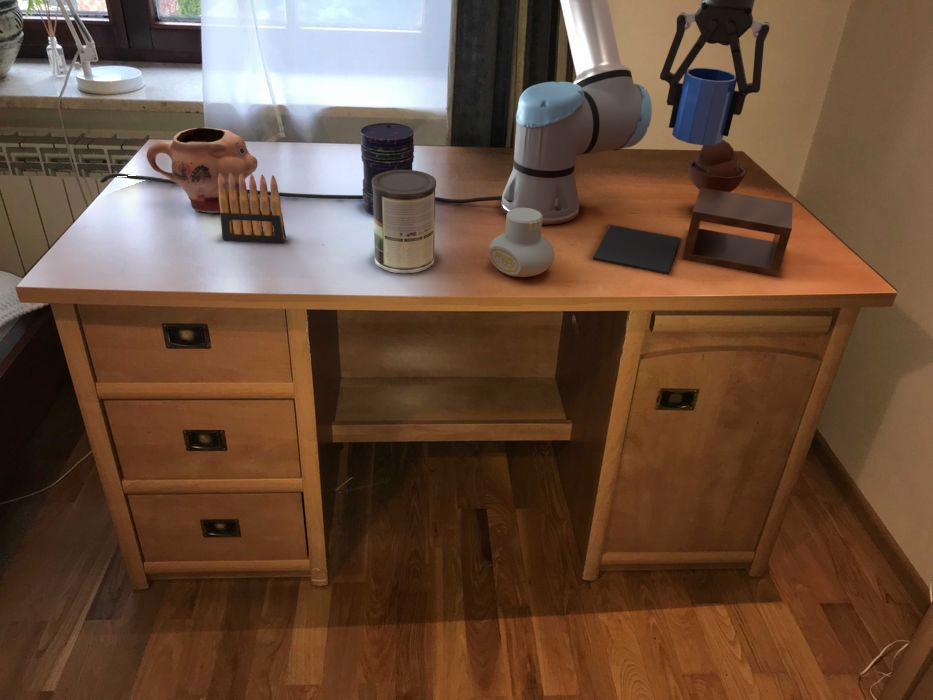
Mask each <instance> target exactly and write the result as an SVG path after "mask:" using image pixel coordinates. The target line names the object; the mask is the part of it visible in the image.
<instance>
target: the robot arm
mask: <svg viewBox="0 0 933 700" xmlns="http://www.w3.org/2000/svg"><path fill="white" fill-rule="evenodd" d="M559 2H560V6H561V10H562V15H563V20H564V25H565V30H566V34H567V39H568V44H569V48H570V52H571V58H572V62H573V66H574V70H575V76H576V77H575V79H574V81H573V82H570V81H546V82H541V83H537V84H533V85H531V86H529V87H528V88H526V89H525V90H524V91H523V92H522V93H521V95H520V96H519V99H518V105H517V111H516V114H515V121H516V124H515V125H516V126H515V139H514V151H513V152H514V153H513V166H512V171H511V173H510V175H509V178H508V180H507V182H506V185H505V187H504V190H503V192H502V195H495V196H494V195H493V196H492V195H491V196H482V197H481V196H480V197H479V196H478V197H471V198H470V197H469V198H463V199H462V198H460V199H459V198H458V199H456V198H445V197H439V196H435V202H440V203H446V204H470V203H476V202H477V203H479V202H489V201H492V202H493V201H500V209H501V211H502V212H503V213H504V214H505V215H506V216H507V213H508V212H509V211H510V210H512V209H515V208H531V209H534V210H537V211H539V212H540V213H541V214H542V216H543V221H542V226H545V225H546V226H548V225H549V226H550V225H559V224H564V223H567V222H570V221H572V220H574V219H575V218H576V217H578V215H579V213H580V198H579V193H578V188H577V184H576V183H577V182H576V179H575V167H576V159H577V156H581V155H588V154H595V153H601V152H602V153H603V152H610V151H615V152H616V151H620V150H622V149H626V148H632V147H634V146H635V145H637V144H639V143H640V142H642V140H643V139H644V137H645V136H646V134H647V132H648V128H649V127H650V125H651V120H652V116H653V115H652V113H653V107H652V99H651V96H650V93H649V92H648V90H647V89H645V87H644V86H643V85H641V84H637V83H634V78H633V75H632V71H631V69H630V68H628V67H626V66H625V65H623V64H622V63H621V57H620V53H619V49H618V43H617V39H616V35H615V30H614V25H613V20H612V16H611V11H610V5H609V2H608V0H559ZM700 2H701V4H700V6H699V8H698V10H697V11H696V12H695V13H685V12H680V13H679V14H678V15H677V17H676V31H675V34H674V37H673V40H672V42H671V44H670V47H669V50H668V53H667V56H666V59H665V61H664V64H663V66H662V69H661V72H660V75H659V79H660V80H661V81H665V82H666V83H668V86H669V88H668V92H667V98H666V105H667V106H671V107H672V109H671V114H670V119H669V123H668V128H670V129H673V128H674V123H675V118H676V113H677V109H678V104H679V99H680V94H681V89H682V84H683V82H680V81H681V80H682V78H684V75H685V72H686V71H687V69H690V67H691V65H692V64H693V62H694V60H695V59H696V58H697V56H698V55H699V54H700V52H701V51H702V49H703V48H704V46H705V45H706V43H707V44H710V45H714V44H715V45H716V44H719V45H722V46H726V47H728V46H729V47H730V53H731V57H732V63H733V68H734V75H736V80H737V82H736V86H737V90H735V91H734V94H733V98H732V102H731V106H730V110H729V114H728V118H727V122H726V126H725V130H724V134H723V137H729V135H730V130H731V127H732V126H731V125H732V122H733V118H734V116H735V115H736V116H740V115H741V114H742V113H743V109H744V106H745V102H746V97H747V96H748V95H749V94H757V93H759V92H760V90H761V84H762V83H761V82H762V72H763V71H762V70H763V60H764V59H763V58H764V48H765V41H766V38H767V36H768V34H769V32H770V26H771V25H770V22H768V21H764V22H762V21H760V20H759V21H758V20H755V19H754V16H753V9H754V5H755V0H701V1H700ZM694 22H695V24H696V26H697V28H698V31H699V33H700V35H699V36H698V38H697V39H696V41H695V42H694V44H693V45H692V47H691V48H690V50H689V51H688V53H687V54H686V56H685V57H684V59H683V60H682V62H681V63H680V65H679V66H678V68H677V69H676V71H675V72H674V73H673V72H671V70H672V68H673V65H674V62H675V60H676V57H677V54H678V51H679V49H680V46H681V43H682V41H683V38H684V35H685V33H686V30H688V29H690V28H691V26H692V23H694ZM749 29H752V36H753V38H755V43H754V44H755V45H754V58H753V68H752V69H753V70H752V81H751V82H749V83H747V76H746V71H745V65H744V60H743V54H742V49H741V41H740V38H741V37H742V36H744V34H745V33H746V32H747V31H748V30H749ZM128 175H130V174H128V173H122V172H121V173H120V172H114V173H110V174H107V175H105V176H103V177H102V178H101V179H100V180H99V183H101V184H102V183H106V182H107V181H108V180H110V179H113V178H118V177H117V176H127V177H121V179H130V180H139V181H152V182H159V183H166V184H172V185H178V184H177V183H175V182H173V181H172V180H170V179H169V178H163V177H158V176H149V175H136V174H135V175H136V176H128ZM257 192H258V196H260V190H258V189H257ZM278 192H279V197H280V198H281V197H282V198H296V199H297V198H299V199H300V198H301V199H319V200H363V194H320V193H319V194H318V193H315V194H314V193H294V192H280V191H278ZM247 193H248V195H250V189H248V188H247ZM268 195H269V197H271V191H268Z"/></svg>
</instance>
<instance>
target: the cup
mask: <svg viewBox="0 0 933 700" xmlns="http://www.w3.org/2000/svg"><path fill="white" fill-rule="evenodd" d="M736 86H737V80H736V74H735V73H733V72H731V71H727V70H723V69H718V68H712V67H691V68H688V69H687V71H686V72H685V74H684V75H683V80H682V89H681V94H680V99H679V104H678V109H677V113H676V118H675V123H674V128H672V133H671V135H672V136H673V137H674V138H675V139H677V140H678V141H681V142H684V143H686V144H689V145H697V146H703V145H716V144H719V143H721V142H722V140H724V139H723V138H724V136H723V134H724V130H725V126H726V122H727V118H728V114H729V110H730V106H731V102H732V98H733V94H734V91H736Z"/></svg>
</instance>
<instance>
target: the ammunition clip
mask: <svg viewBox="0 0 933 700" xmlns="http://www.w3.org/2000/svg"><path fill="white" fill-rule="evenodd" d="M248 179H249V181H248V186H249V187H247V183H246V179H244V177H243V175H242V174H240V176H239V193H240V196H239V197H238V194H237V189H236V184H235V180H234V177H233V175H232V174H231V173H230V174H229V180H228V184H229V197H228V194H227V190H226V185H225V181H224V178H223V176H222V174H221V173H219V176H218V187H219V203H220V210H221V212H219V217H220V226H221V227H220V228H221V235H222V240H223V241H225V242H226V241H227V242H248V243H268V244H269V243H270V244H272V243H273V244H285V241H286V240H287V235H286V229H285V222H284V216H283V211H282V204H281V203H282V202H281V196H279V192H280V191H279V186H278V182H277V179H276V177H275V175H274V174H272V175H271V178H270V184H269V185H270V192H271V196H269V195H268V190H269V189H268V184H267V181H266V178H265V176H264V174H261V175H260V179H259V191H260V195H258V192H257V190H258V187H257V182H256V180H255V176H254V174H253V173H252V174H250V175H249V178H248ZM248 188H249V190H250V194H248V193H247V189H248ZM239 201H240V202H239ZM229 202H230V203H229Z"/></svg>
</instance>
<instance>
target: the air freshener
mask: <svg viewBox="0 0 933 700" xmlns="http://www.w3.org/2000/svg"><path fill="white" fill-rule="evenodd" d="M542 221H543V216H542V214H541V213H540V212H539V211H537V210H534V209H531V208H515V209H512V210H510V211H509V212H508V213H507V215H506V219H505V228H504V229H505V230H504V232H503V233H500V234H499V235H498V236H496V237H495V238H493V240H492V241H491V243H490V244H489V246H488V258H489V260H490V262H491V264H492V265H493V266H494V267H495V268H496V269H498V270H499V271H500V272H501V273H503V274H505V275H507V276H508V277H509V276H510V277H517V278H529V277H534V276H538V275H540V274H542V273H544V272H545V271H547V270H548V269H549V268H550V267H551V266H552V265H553V262H554V260H555V250H554V247H553V245H552V244H551V242H550V240H548V239H547V238H546V237H544V236H543V235H542V231H543V225H542Z"/></svg>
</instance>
